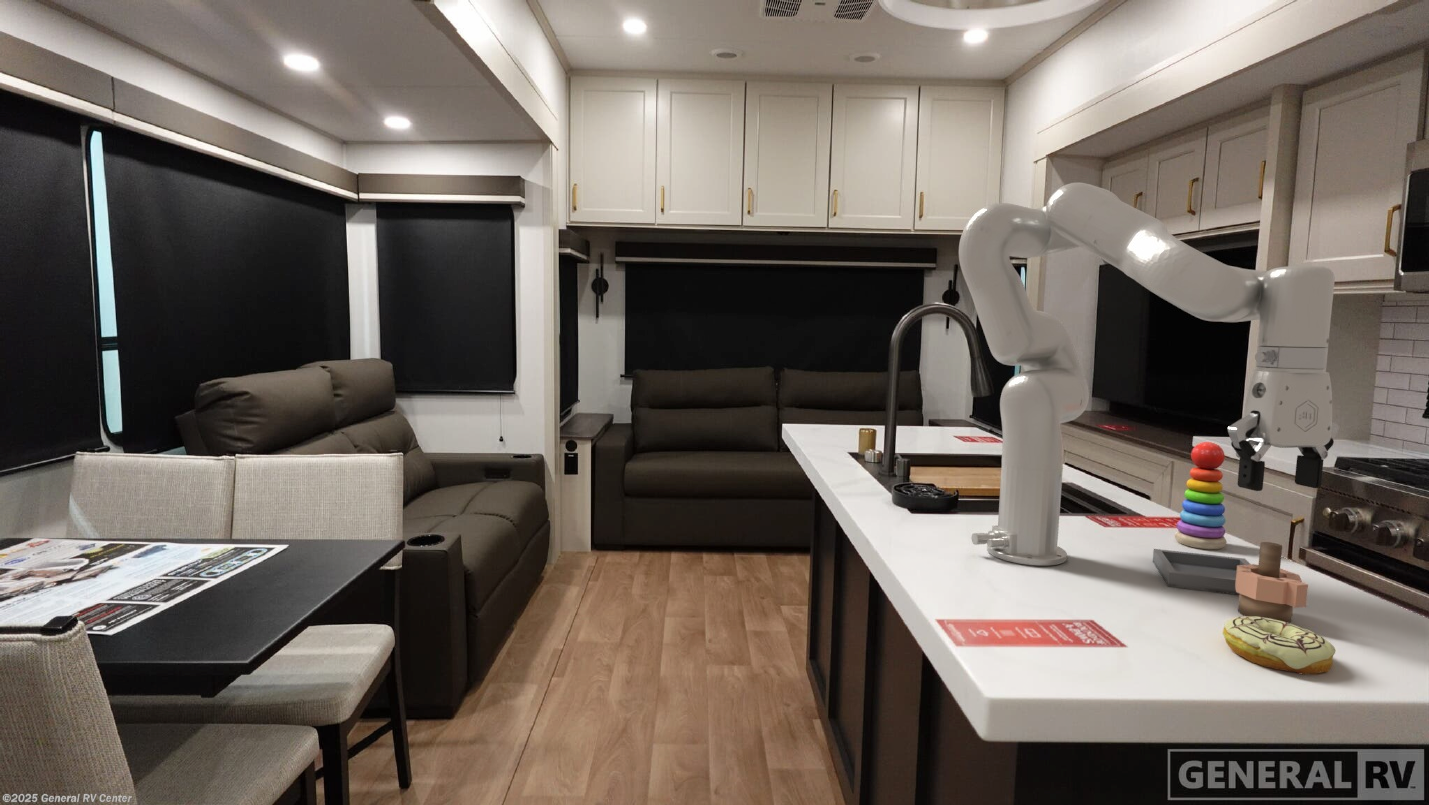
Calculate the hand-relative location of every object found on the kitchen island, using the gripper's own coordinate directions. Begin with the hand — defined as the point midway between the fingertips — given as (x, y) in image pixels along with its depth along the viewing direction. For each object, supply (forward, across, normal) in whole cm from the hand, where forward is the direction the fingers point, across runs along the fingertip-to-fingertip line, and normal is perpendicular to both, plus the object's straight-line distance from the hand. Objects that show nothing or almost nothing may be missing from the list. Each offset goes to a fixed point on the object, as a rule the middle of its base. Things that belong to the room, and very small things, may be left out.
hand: (1278, 487), depth 103 cm
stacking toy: (+18, +20, +30) cm, 40 cm away
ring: (+15, 0, 0) cm, 15 cm away
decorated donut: (+18, -11, -11) cm, 24 cm away
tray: (+18, +5, +14) cm, 23 cm away
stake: (+18, 0, 0) cm, 18 cm away
